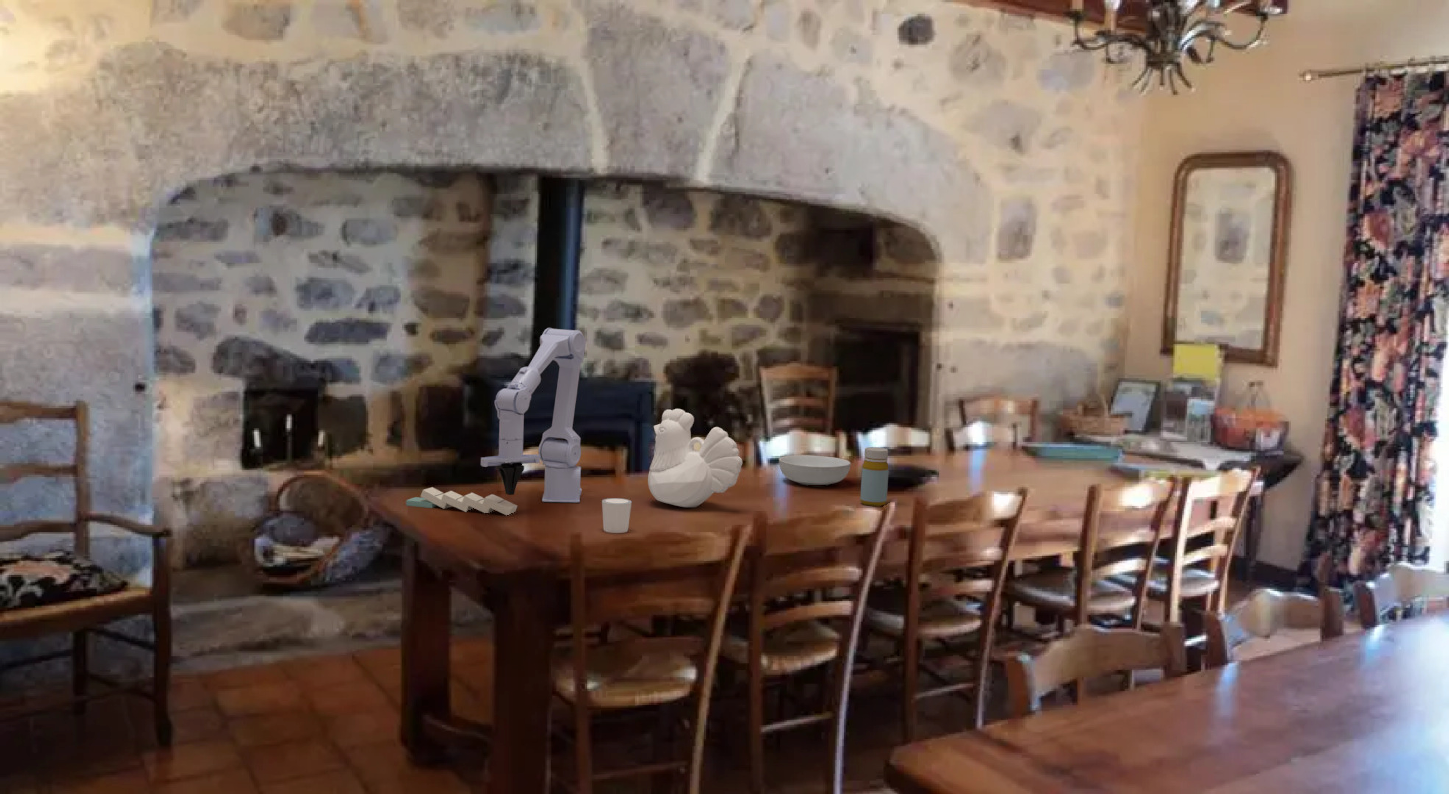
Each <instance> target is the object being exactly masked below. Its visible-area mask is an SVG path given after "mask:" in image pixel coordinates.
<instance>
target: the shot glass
mask: <svg viewBox="0 0 1449 794" xmlns="http://www.w3.org/2000/svg"><path fill="white" fill-rule="evenodd" d="M601 505H602V524H603V527H602V528H603V531H604V532H606V533H611V534H612V533H613V534H620V533H621V534H623V533H627V532H628V531H629V524H630V516H631V510H632V500H630V499H627V498H619V497H617V498H616V497H613V498H612V497H611V498H604V499H602V500H601Z"/></svg>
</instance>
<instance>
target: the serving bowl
mask: <svg viewBox="0 0 1449 794" xmlns="http://www.w3.org/2000/svg"><path fill="white" fill-rule="evenodd" d="M851 464H852V463H851V462H850V461H849V460H847V459H845V458H844V459H843V458H839V457H832V456H822V455H811V454H810V455H806V454H803V455H802V454H795V455H784V456H780V457H779V459H778V465H779V470H780V472H781V473H782V474H783V476H785V478H787V479H788V480H790V481H793V482H795V483H798V484H800V485H802V486H808V485H826V486H829V485H831V484H837V483H839V482H841V481H843V480H844V479H845V478H846V477H847V476H848V474H849V472H850V468H851Z"/></svg>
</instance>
